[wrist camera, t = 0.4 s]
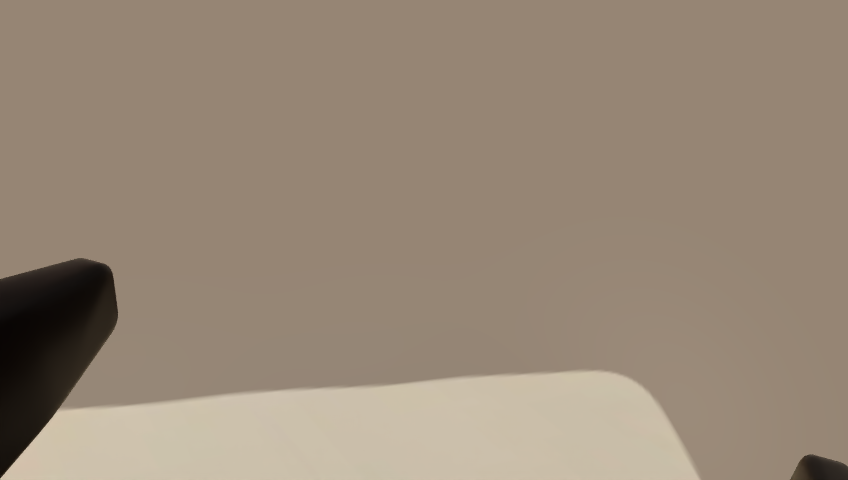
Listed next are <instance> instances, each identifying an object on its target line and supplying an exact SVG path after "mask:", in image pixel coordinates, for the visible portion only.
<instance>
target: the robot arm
mask: <svg viewBox="0 0 848 480" xmlns="http://www.w3.org/2000/svg"><path fill="white" fill-rule="evenodd" d="M117 318H118V309H117V301H116V294H115V287H114V279H113V274H112V271H111V269H110V268H109V266H107V265H106V264H103V263H99V262H96V261H92V260H88V259H83V258H78V259H74V260H70V261H66V262H62V263H59V264H55V265H51V266H48V267H44V268H40V269H37V270H33V271H29V272H25V273H21V274H18V275H14V276H10V277H6V278H3V279H0V478H1V477H2V476H3V475H4V474H5V472H6V471H7V470H8V469H9V468H10V467H11V465H12V464H13V463H14V462H15V461H16V460H17V458H18V457H19V456H20V455H21V454H22V453H23V451H24V450H25V449H26V448H27V447H28V446H29V444H30V443H31V442H32V441H33V440H34V439H35V437H36V436H37V435H38V434H39V433H40V432H41V430H42V429H43V428H44V427H45V426H46V424H47V423H48V422H49V421H50V419H51V418H52V417H53V415H54V414H55V413H56V411H57V410H58V409H59V407H60V406H61V405H62V403H63V402H64V401H65V399H66V398H67V396H68V395H69V393H70V392H71V390H72V389H73V388H74V386H75V385H76V383H77V382H78V380H79V379H80V378H81V376H82V375H83V373H84V372H85V371H86V369H87V368H88V366H89V365H90V363H91V362H92V360H93V359H94V358H95V356H96V355H97V353H98V352H99V350H100V349H101V348H102V346H103V345H104V343H105V342H106V340H107V339H108V338H109V336H110V335H111V333H112V332H113V330H114V328H115V325H116V323H117ZM790 480H848V467H847V466H846V465H845V464H843V463H841V462H838V461H834V460H830V459H827V458H823V457H819V456H815V455H807V456H804V457H803V458H802V459H801V460H800V462H799V464H798V466H797V467H796V470H795V471H794V474H793V475H792V477H791V479H790Z"/></svg>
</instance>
